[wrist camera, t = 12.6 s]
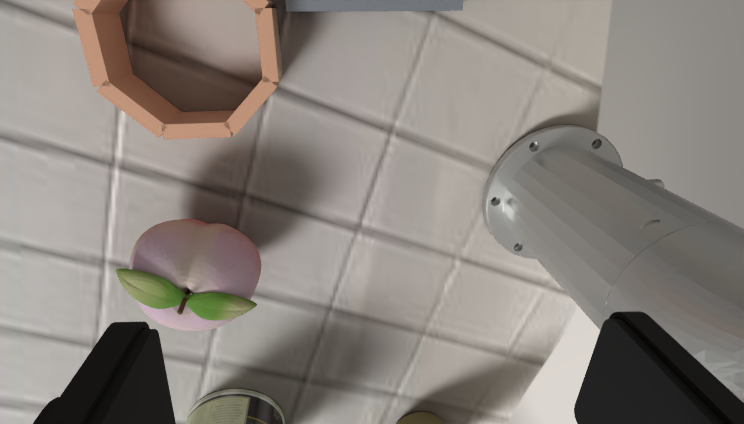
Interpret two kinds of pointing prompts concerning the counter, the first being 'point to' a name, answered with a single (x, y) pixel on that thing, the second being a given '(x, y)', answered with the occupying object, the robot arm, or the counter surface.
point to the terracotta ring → (146, 106)
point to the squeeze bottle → (420, 419)
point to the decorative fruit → (192, 274)
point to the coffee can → (235, 408)
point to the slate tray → (372, 5)
